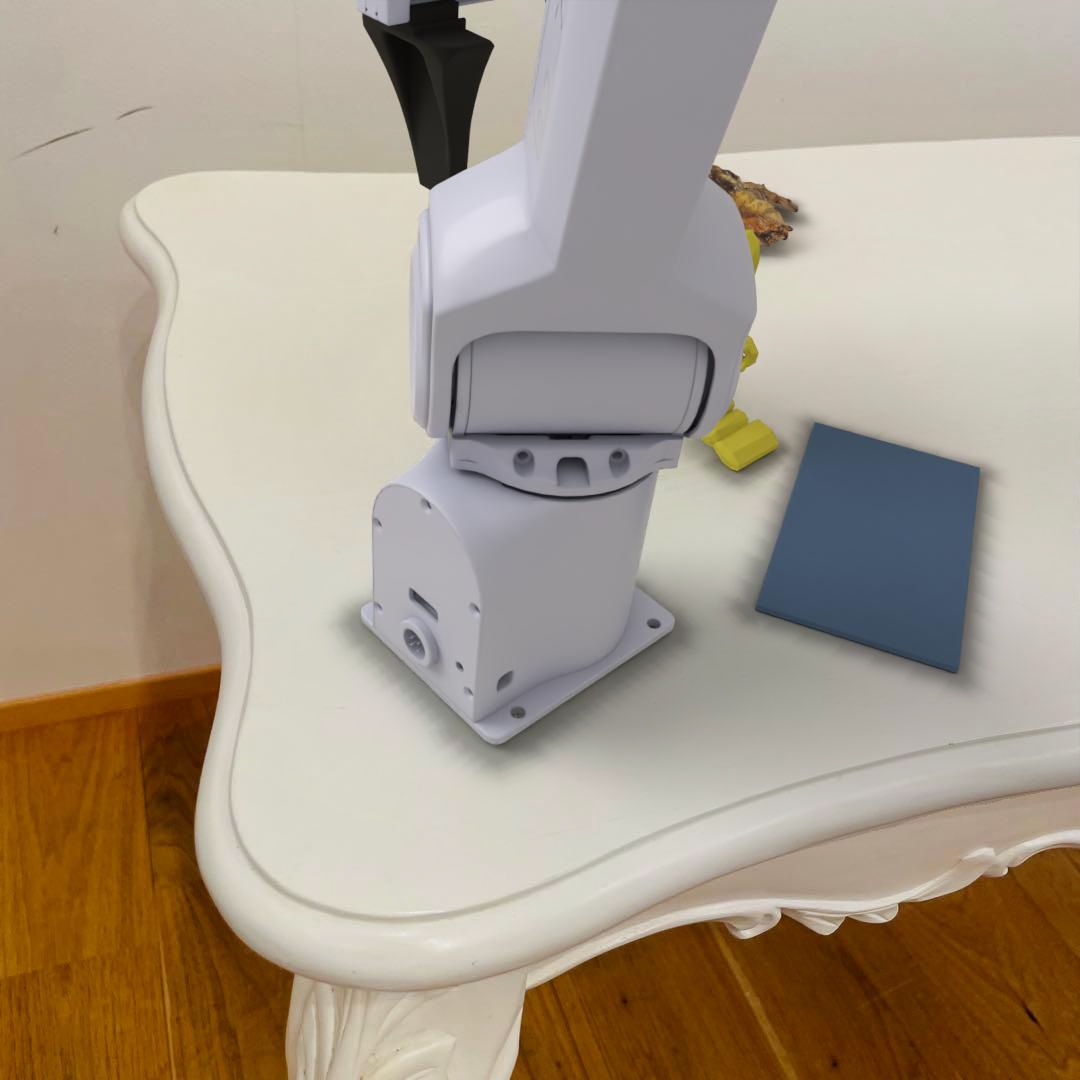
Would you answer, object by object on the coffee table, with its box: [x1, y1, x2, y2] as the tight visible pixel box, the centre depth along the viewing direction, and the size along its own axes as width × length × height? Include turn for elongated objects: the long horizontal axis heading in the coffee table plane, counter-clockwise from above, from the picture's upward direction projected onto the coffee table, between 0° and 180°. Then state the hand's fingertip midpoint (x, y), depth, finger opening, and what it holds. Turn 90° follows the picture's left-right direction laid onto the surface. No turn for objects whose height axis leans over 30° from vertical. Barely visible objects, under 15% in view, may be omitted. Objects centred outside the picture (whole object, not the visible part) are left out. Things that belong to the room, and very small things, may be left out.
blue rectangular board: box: [754, 421, 981, 674], centre depth 48 cm, size 14×8×1 cm, turn 160°
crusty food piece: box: [708, 164, 799, 247], centre depth 70 cm, size 9×12×3 cm
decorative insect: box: [701, 230, 780, 472], centre depth 52 cm, size 13×3×10 cm
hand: (507, 170), depth 48 cm, fingers open, 7 cm apart
